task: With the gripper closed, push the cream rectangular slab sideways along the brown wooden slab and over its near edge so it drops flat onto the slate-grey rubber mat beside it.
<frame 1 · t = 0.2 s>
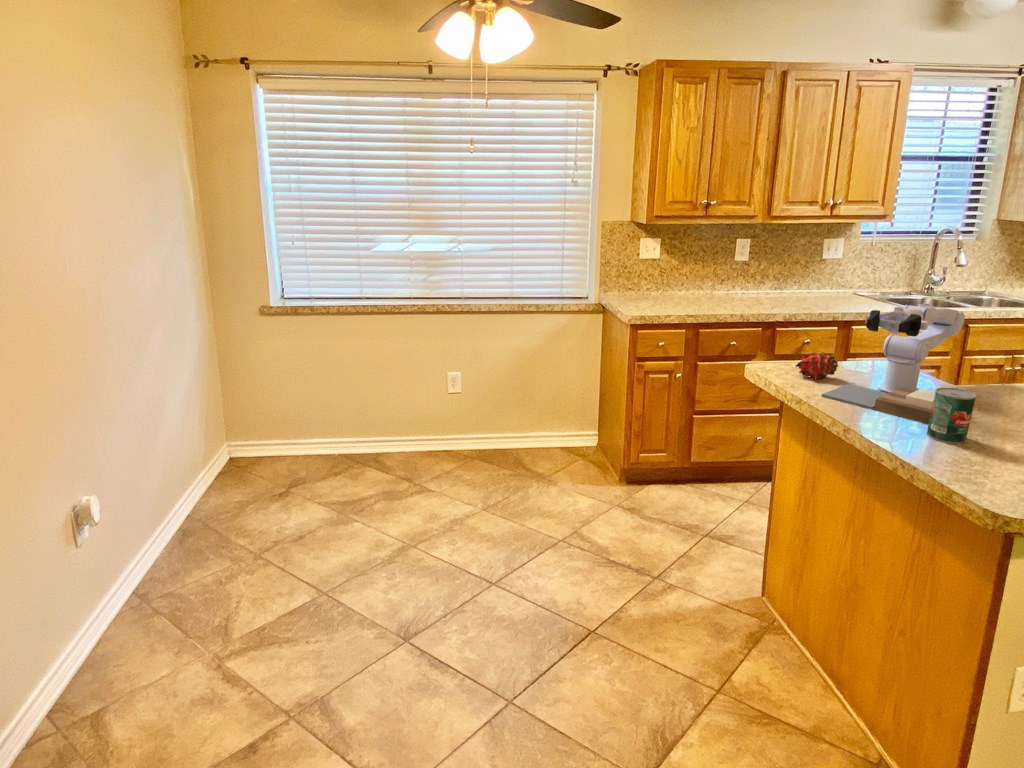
hand: (883, 325, 171), 22 cm above the countertop, tool horizontal, fingers open, 7 cm apart
canned tomato: (945, 438, 157), on the countertop
dragon fruit: (814, 378, 202), on the countertop
cream rectangular slab: (925, 398, 171), point 4 cm above the countertop, touching brown wooden slab
mat: (859, 396, 185), on the countertop
brown wooden slab: (915, 410, 174), on the countertop
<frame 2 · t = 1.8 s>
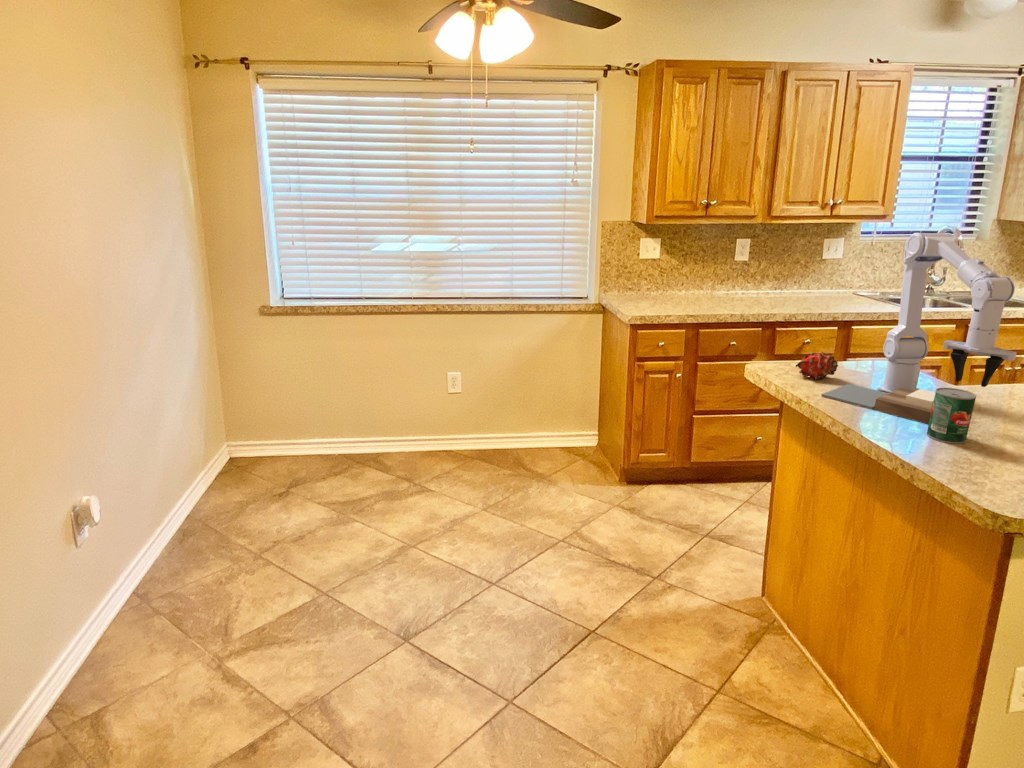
hand: (971, 383, 162), 10 cm above the countertop, tool pointing down, fingers open, 5 cm apart
nothing on the countertop moved.
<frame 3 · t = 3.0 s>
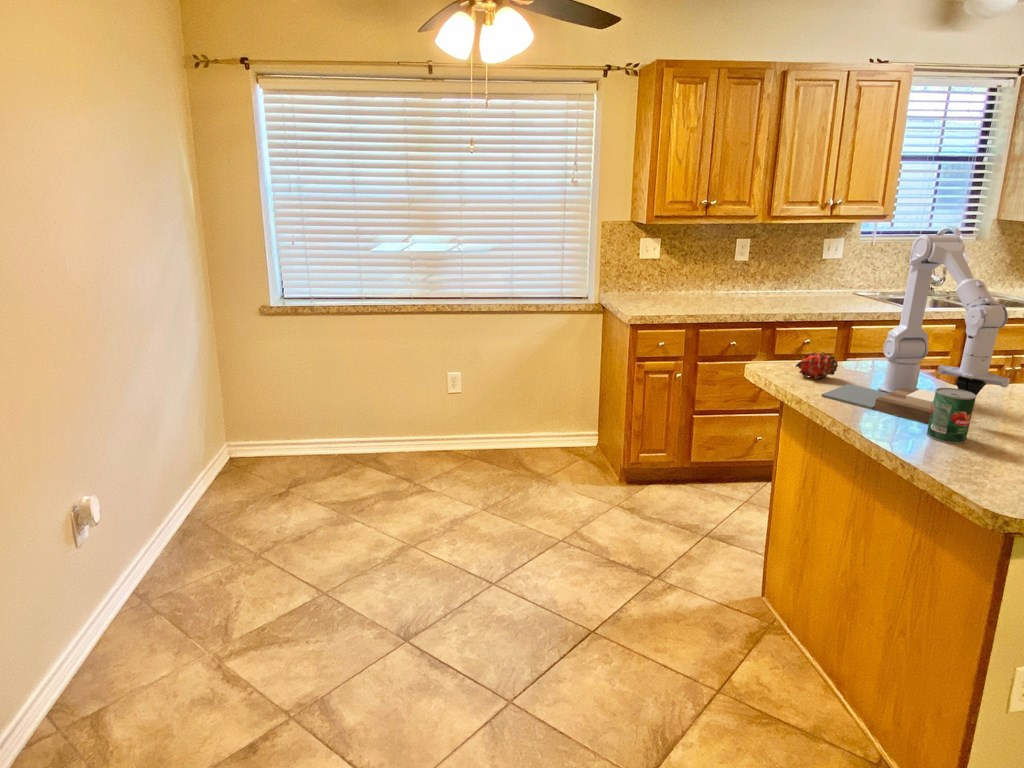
hand: (965, 408, 164), 4 cm above the countertop, tool pointing down, fingers closed
nothing on the countertop moved.
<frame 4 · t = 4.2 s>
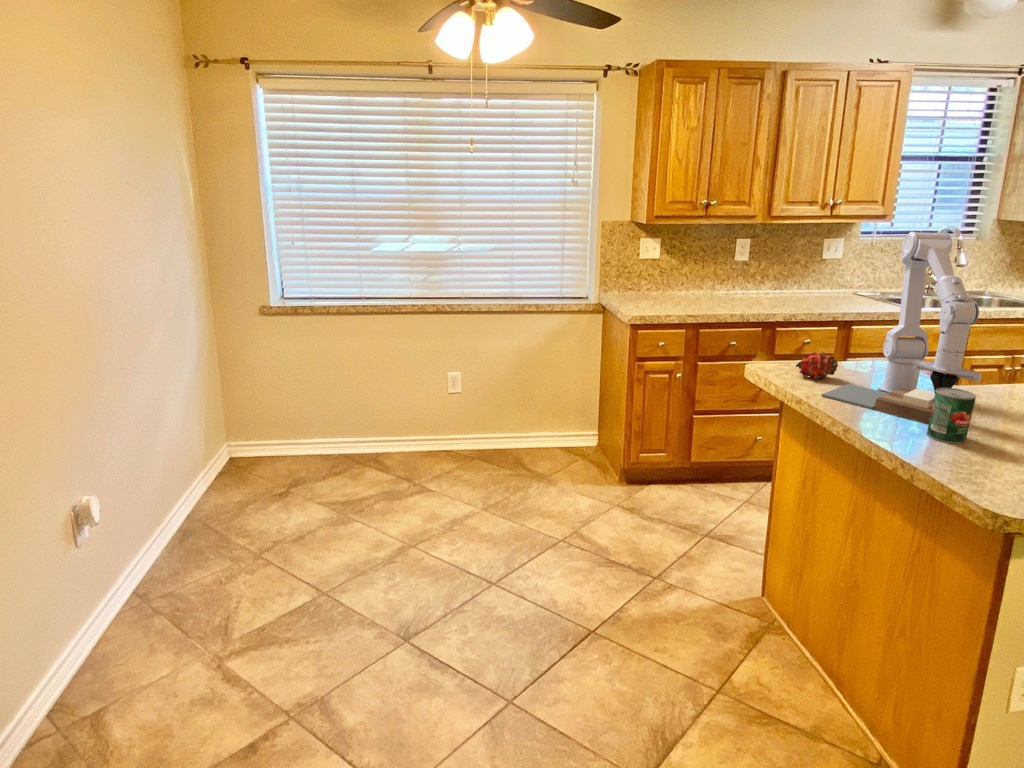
hand: (939, 402, 169), 4 cm above the countertop, tool pointing down, fingers closed
nothing on the countertop moved.
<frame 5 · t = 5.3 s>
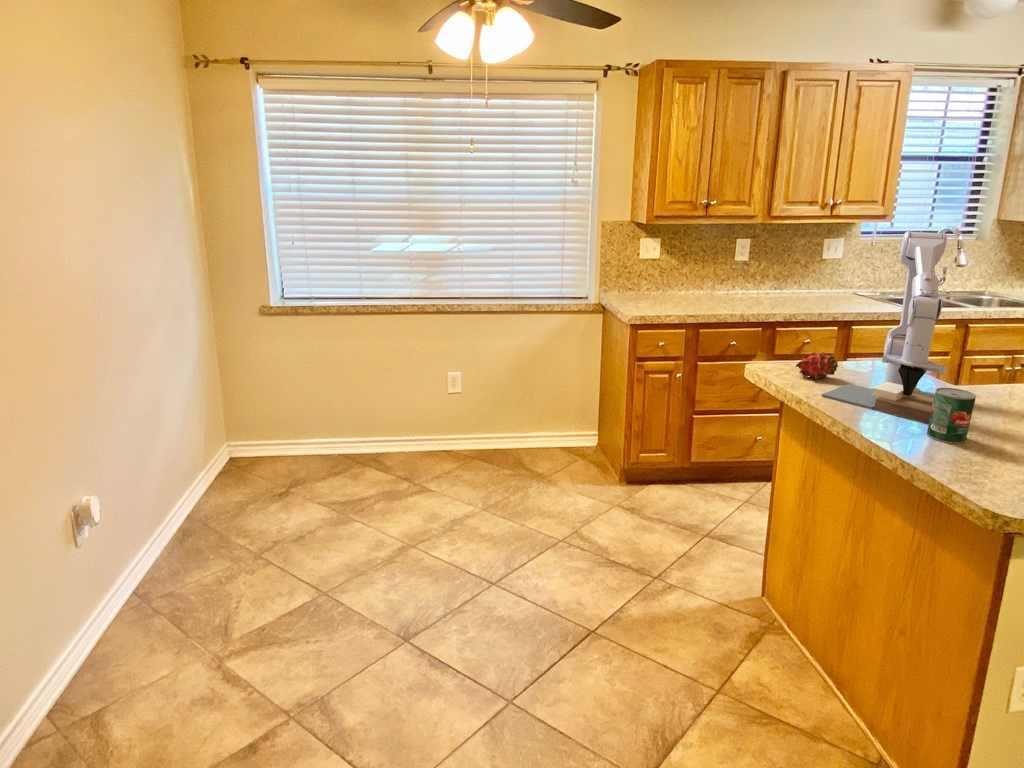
hand: (907, 394, 174), 4 cm above the countertop, tool pointing down, fingers closed
cream rectangular slab: (891, 391, 177), point 4 cm above the countertop, touching gripper
everything else where it was.
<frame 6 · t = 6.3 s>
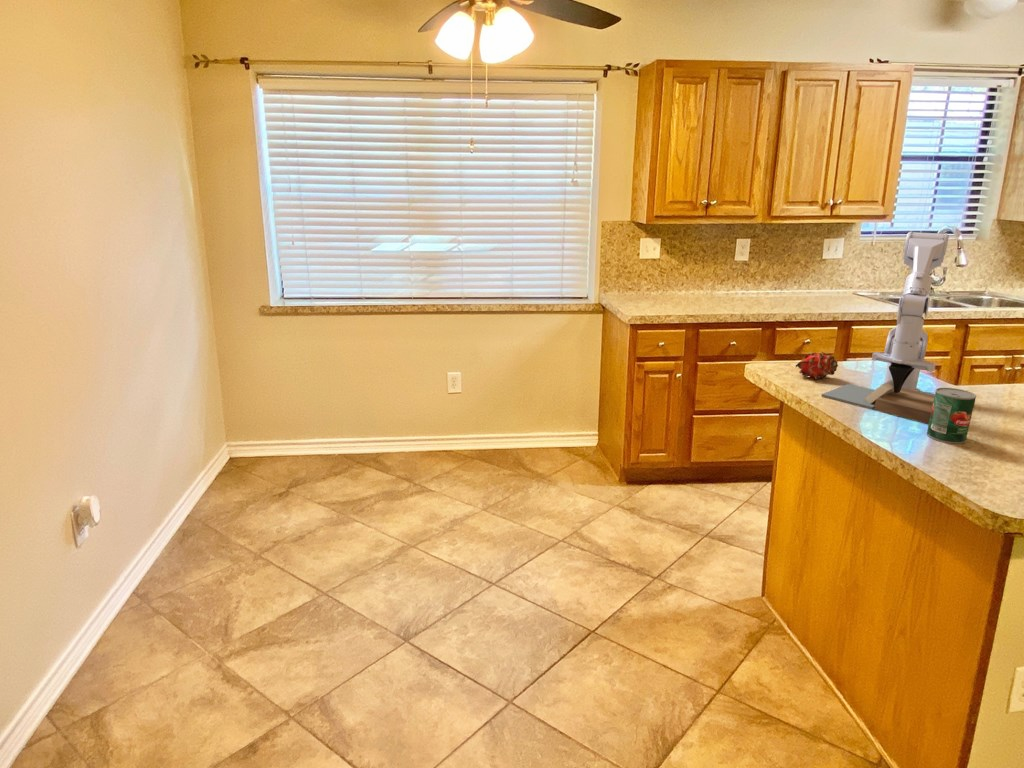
hand: (896, 392, 176), 4 cm above the countertop, tool pointing down, fingers closed, pressing on cream rectangular slab
cream rectangular slab: (883, 391, 178), point 4 cm above the countertop, tilted 52°, touching gripper, mat
everything else where it was.
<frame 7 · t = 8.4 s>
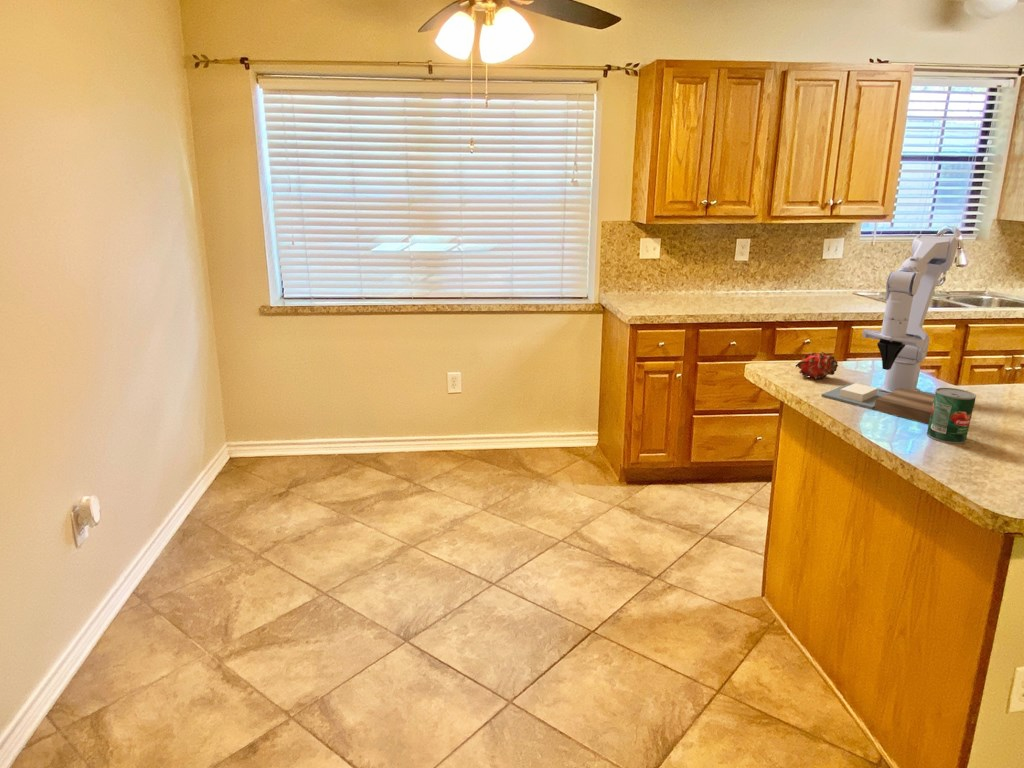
hand: (886, 368, 177), 9 cm above the countertop, tool pointing down, fingers closed
cream rectangular slab: (858, 392, 183), point 2 cm above the countertop, tilted 180°, touching mat
everything else where it was.
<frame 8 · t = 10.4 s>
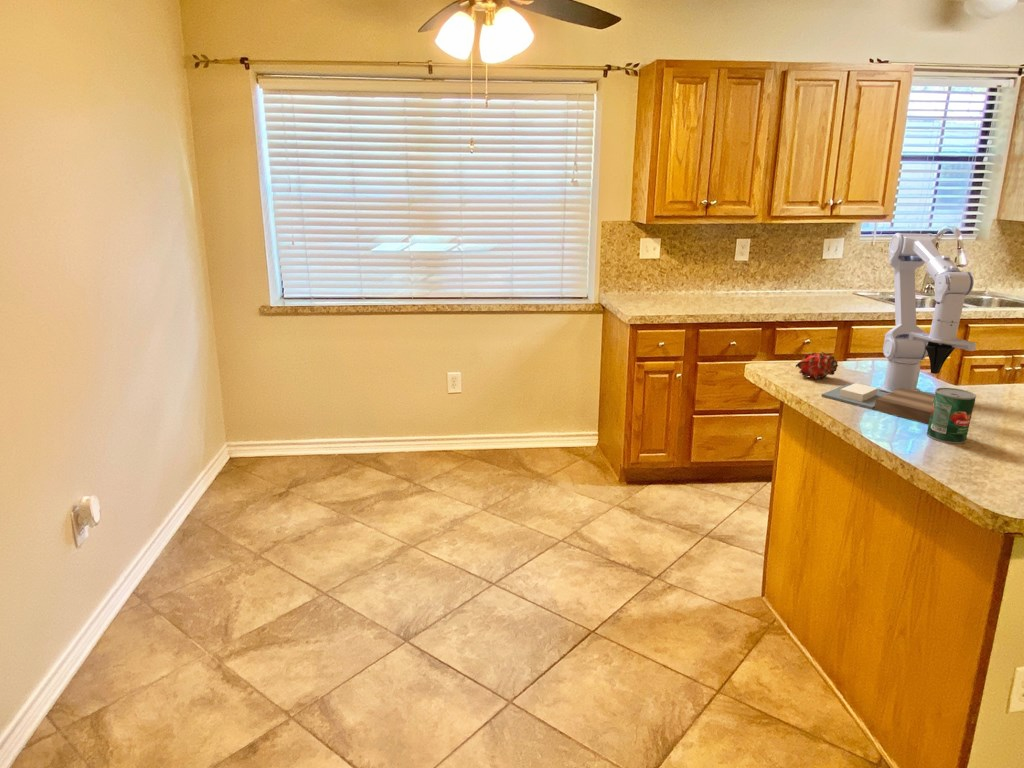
hand: (934, 372, 171), 10 cm above the countertop, tool pointing down, fingers closed
nothing on the countertop moved.
at the end: cream rectangular slab inside the target area (1.2 cm from its centre), point 1.6 cm above the countertop; cream rectangular slab touching mat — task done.
